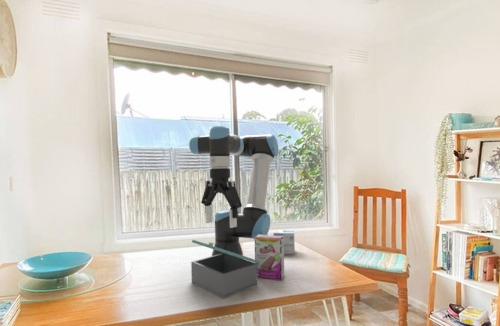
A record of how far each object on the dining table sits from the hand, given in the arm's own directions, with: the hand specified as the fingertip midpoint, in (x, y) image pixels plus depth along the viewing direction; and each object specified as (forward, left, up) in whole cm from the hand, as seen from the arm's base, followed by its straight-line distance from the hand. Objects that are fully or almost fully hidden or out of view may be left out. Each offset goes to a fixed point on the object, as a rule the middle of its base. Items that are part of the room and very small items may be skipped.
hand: (220, 224), depth 112 cm
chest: (-1, +2, -23) cm, 23 cm away
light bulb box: (-11, +49, -23) cm, 56 cm away
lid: (-1, +2, -11) cm, 11 cm away
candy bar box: (+7, +19, -23) cm, 31 cm away
